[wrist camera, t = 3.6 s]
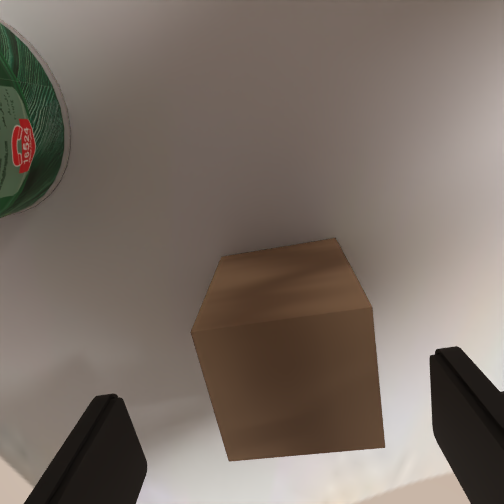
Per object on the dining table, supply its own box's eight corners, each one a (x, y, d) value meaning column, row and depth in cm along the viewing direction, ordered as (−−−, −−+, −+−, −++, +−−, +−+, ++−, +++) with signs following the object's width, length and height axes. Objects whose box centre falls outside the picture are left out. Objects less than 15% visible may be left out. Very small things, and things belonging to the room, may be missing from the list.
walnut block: (335, 237, 15) (372, 307, 9) (347, 337, 16) (385, 447, 11) (221, 256, 15) (190, 332, 10) (244, 350, 17) (228, 461, 11)
